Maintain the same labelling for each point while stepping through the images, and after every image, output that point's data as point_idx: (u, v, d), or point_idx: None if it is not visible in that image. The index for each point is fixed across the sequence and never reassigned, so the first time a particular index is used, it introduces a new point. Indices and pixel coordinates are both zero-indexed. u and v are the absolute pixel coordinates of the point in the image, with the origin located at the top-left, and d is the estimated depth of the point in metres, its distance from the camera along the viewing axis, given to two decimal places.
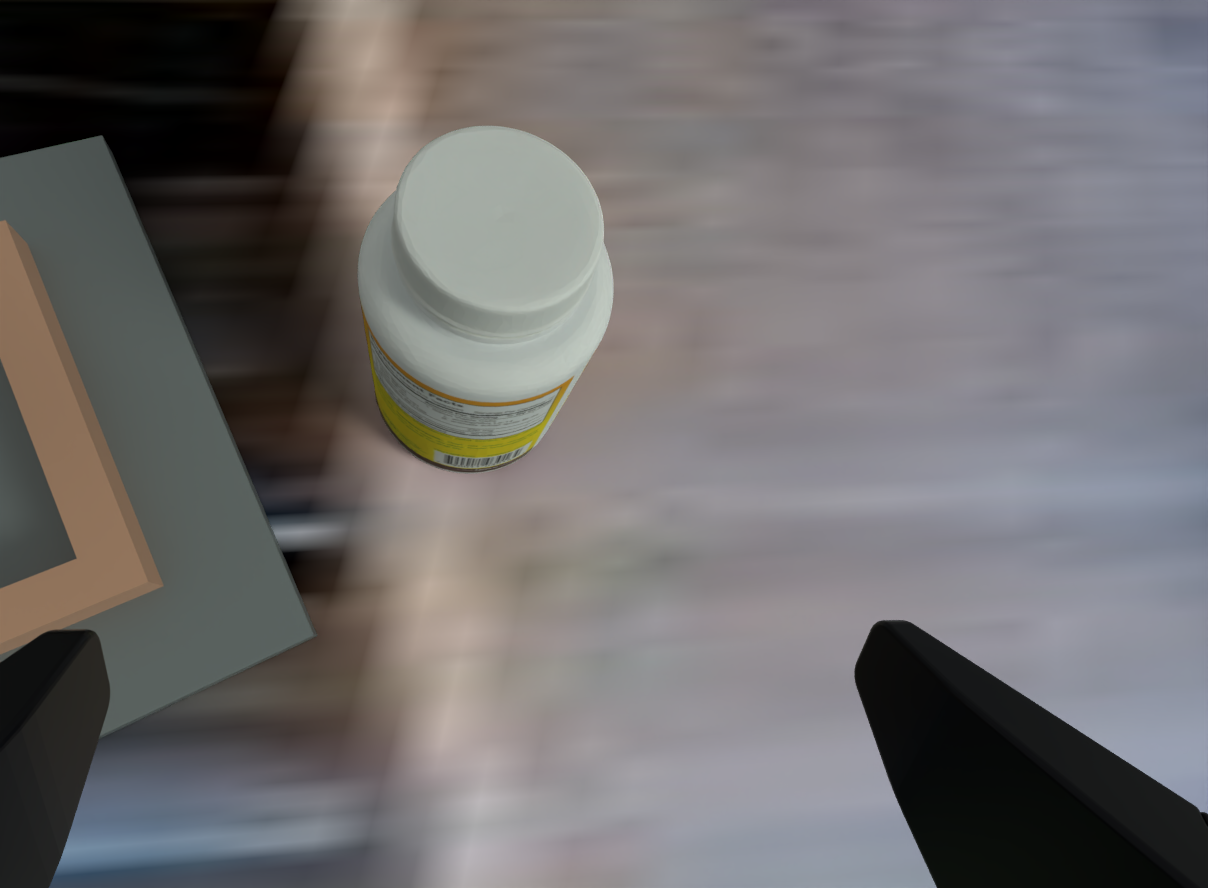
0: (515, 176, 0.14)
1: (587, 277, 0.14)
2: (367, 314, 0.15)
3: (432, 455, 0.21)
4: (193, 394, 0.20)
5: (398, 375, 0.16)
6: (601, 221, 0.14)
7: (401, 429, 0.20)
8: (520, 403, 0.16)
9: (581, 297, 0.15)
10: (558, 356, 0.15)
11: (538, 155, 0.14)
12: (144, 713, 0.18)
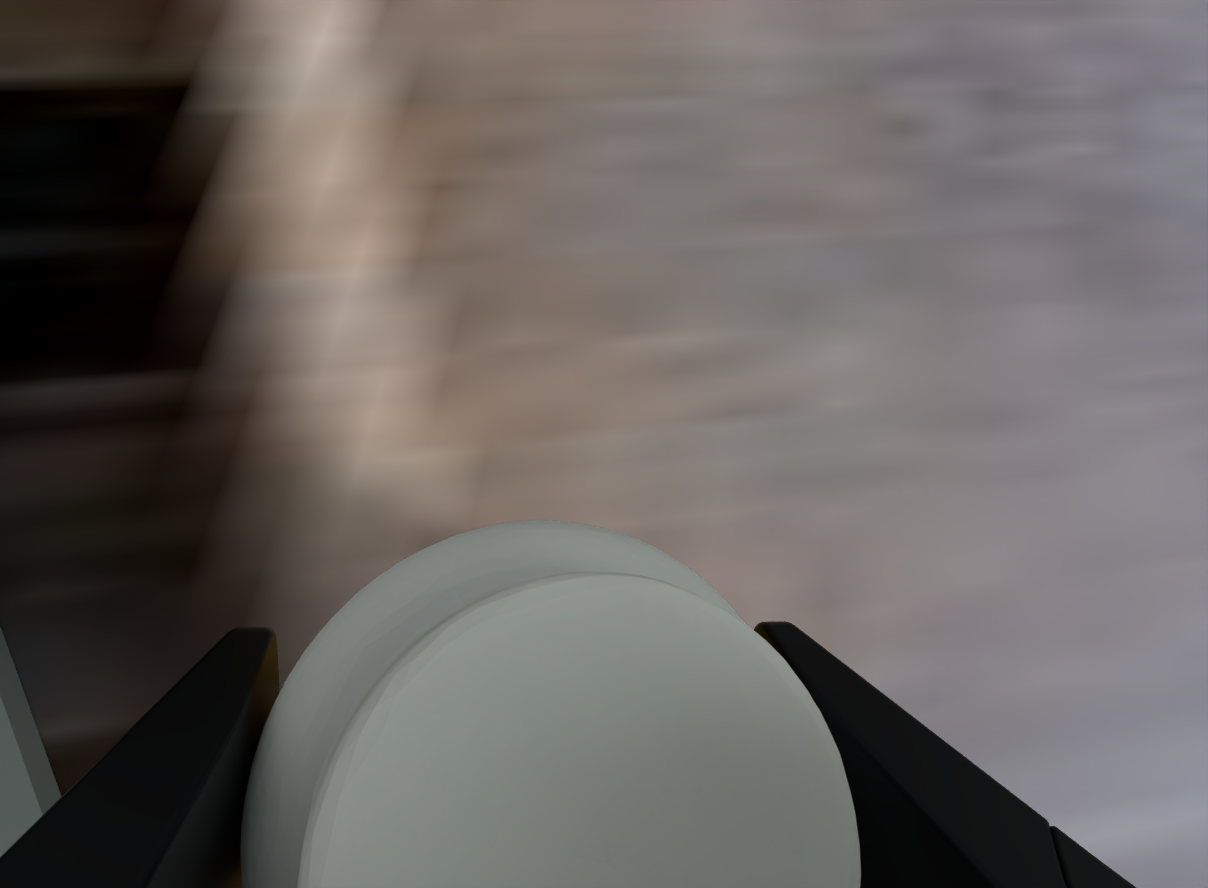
0: (634, 730, 0.05)
1: None
2: None
3: None
4: (4, 805, 0.12)
5: None
6: (854, 827, 0.05)
7: None
8: None
9: None
10: None
11: (689, 652, 0.05)
12: None
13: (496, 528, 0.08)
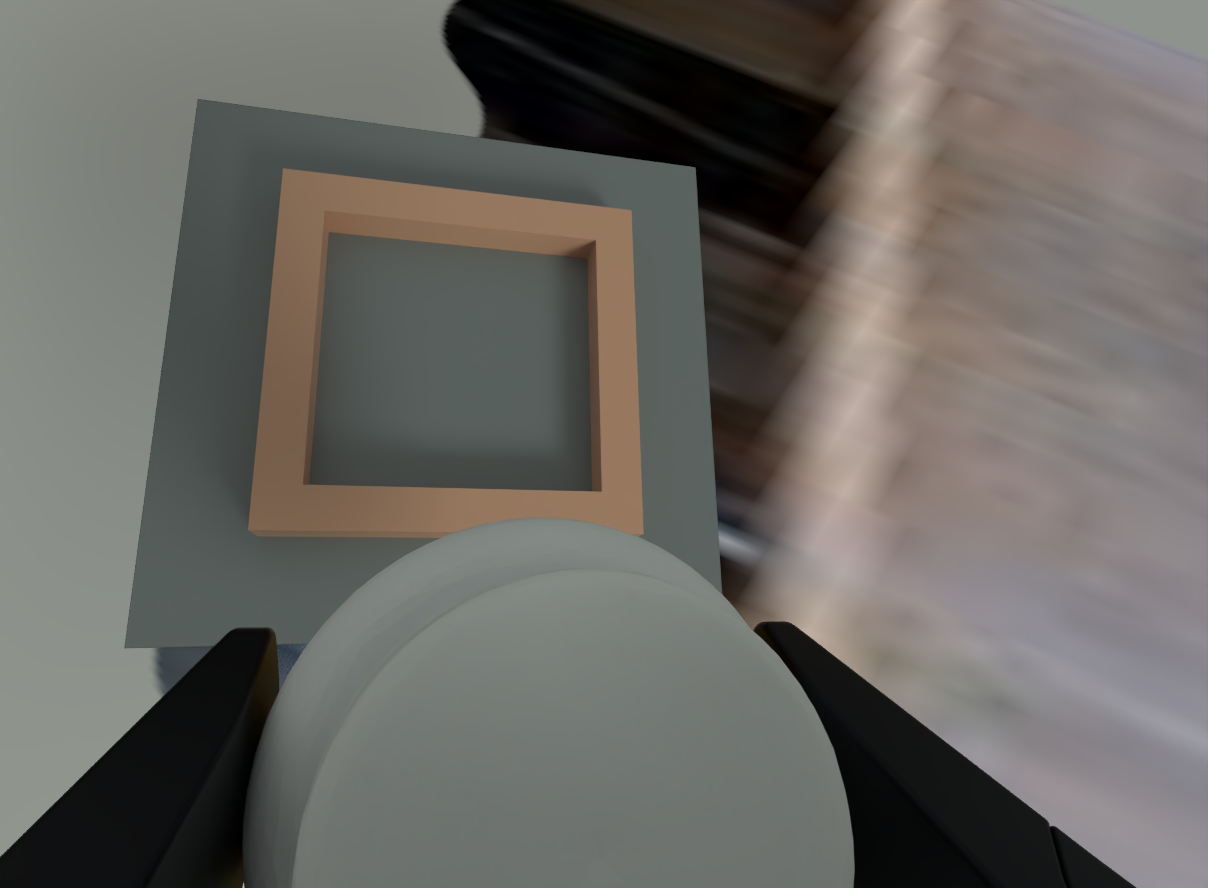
0: (627, 726, 0.05)
1: None
2: None
3: None
4: (697, 395, 0.24)
5: None
6: (849, 824, 0.05)
7: None
8: None
9: None
10: None
11: (682, 649, 0.05)
12: None
13: (496, 527, 0.08)
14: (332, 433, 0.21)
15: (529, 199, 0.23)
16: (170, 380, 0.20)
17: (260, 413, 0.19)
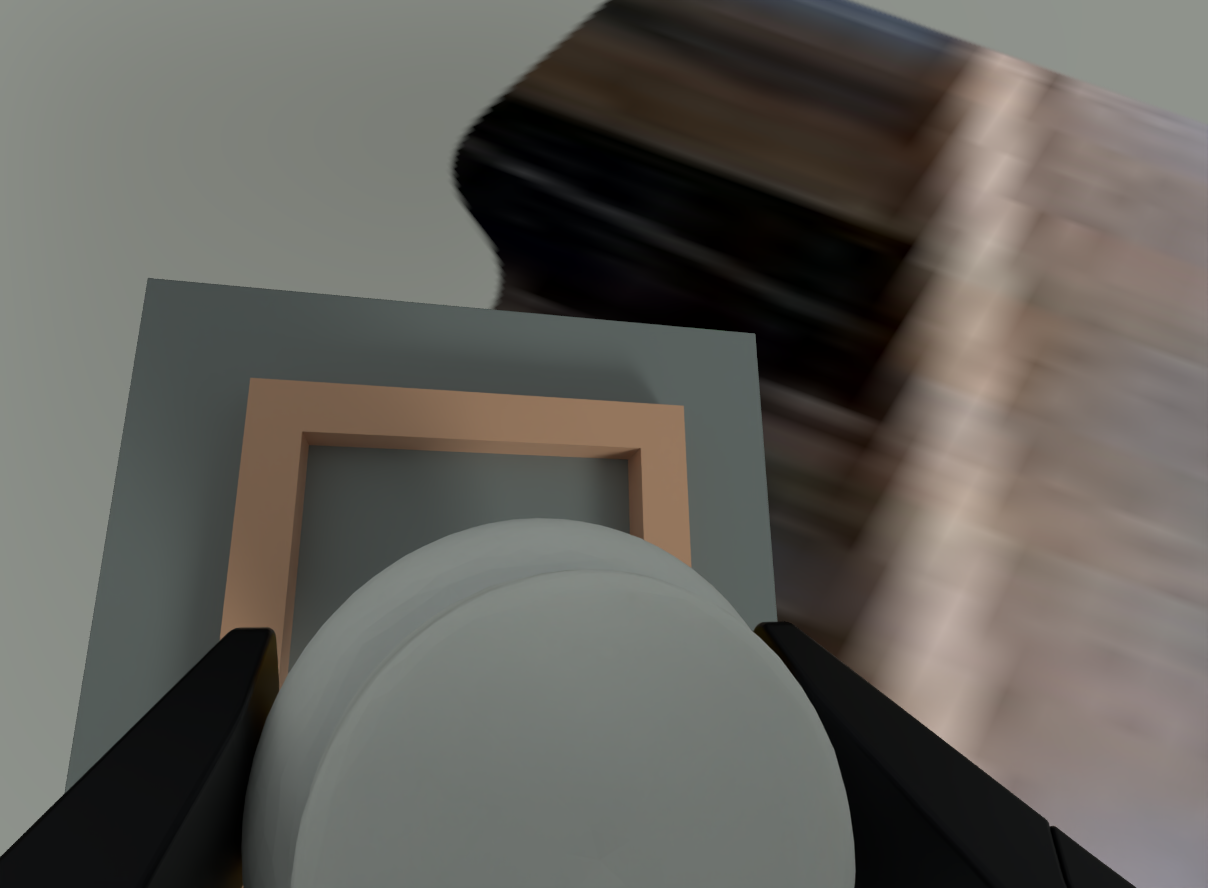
0: (627, 728, 0.05)
1: None
2: None
3: None
4: None
5: None
6: (849, 825, 0.05)
7: None
8: None
9: None
10: None
11: (683, 651, 0.05)
12: None
13: (496, 527, 0.08)
14: None
15: (559, 399, 0.18)
16: (98, 663, 0.16)
17: None
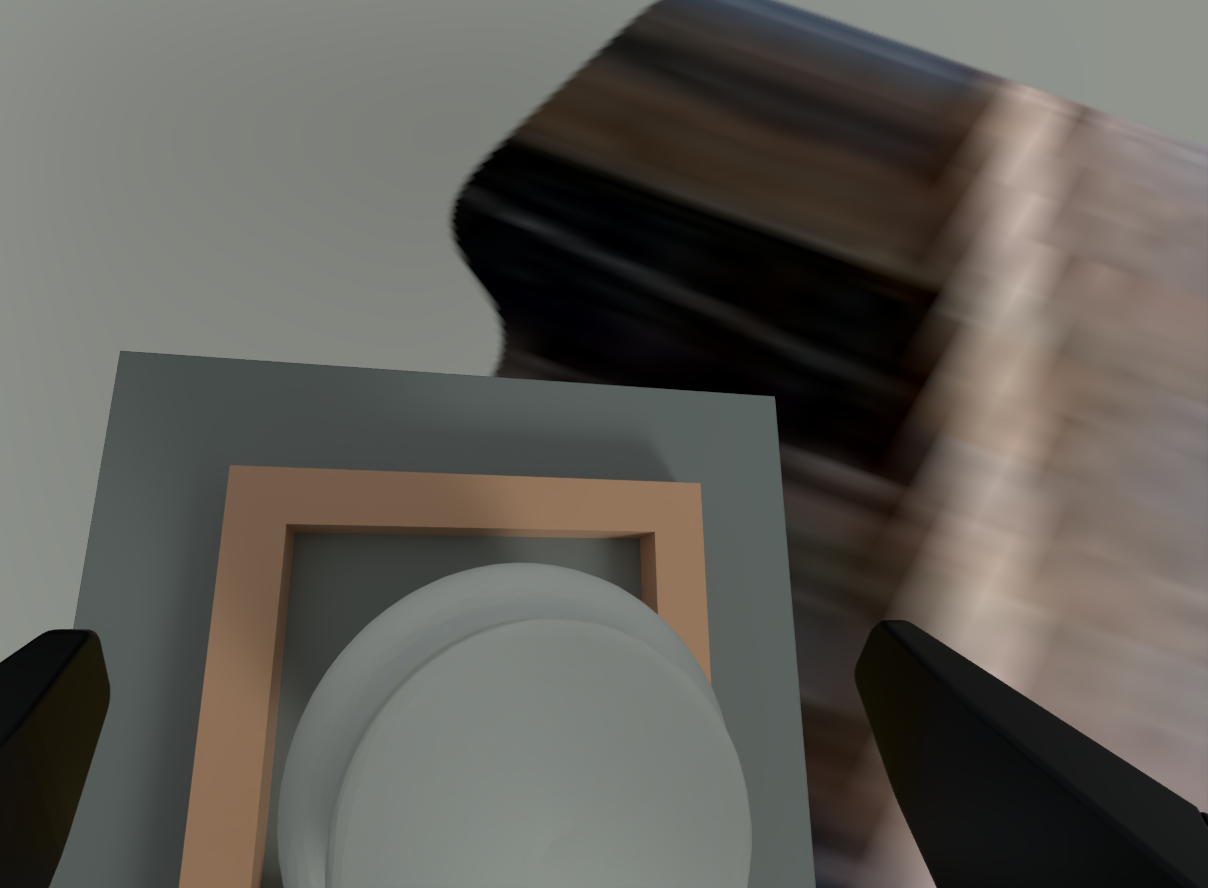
0: (577, 740, 0.07)
1: None
2: None
3: None
4: (786, 727, 0.18)
5: None
6: (747, 814, 0.07)
7: None
8: None
9: None
10: None
11: (621, 681, 0.07)
12: None
13: (482, 572, 0.09)
14: None
15: (566, 480, 0.17)
16: None
17: (184, 858, 0.13)
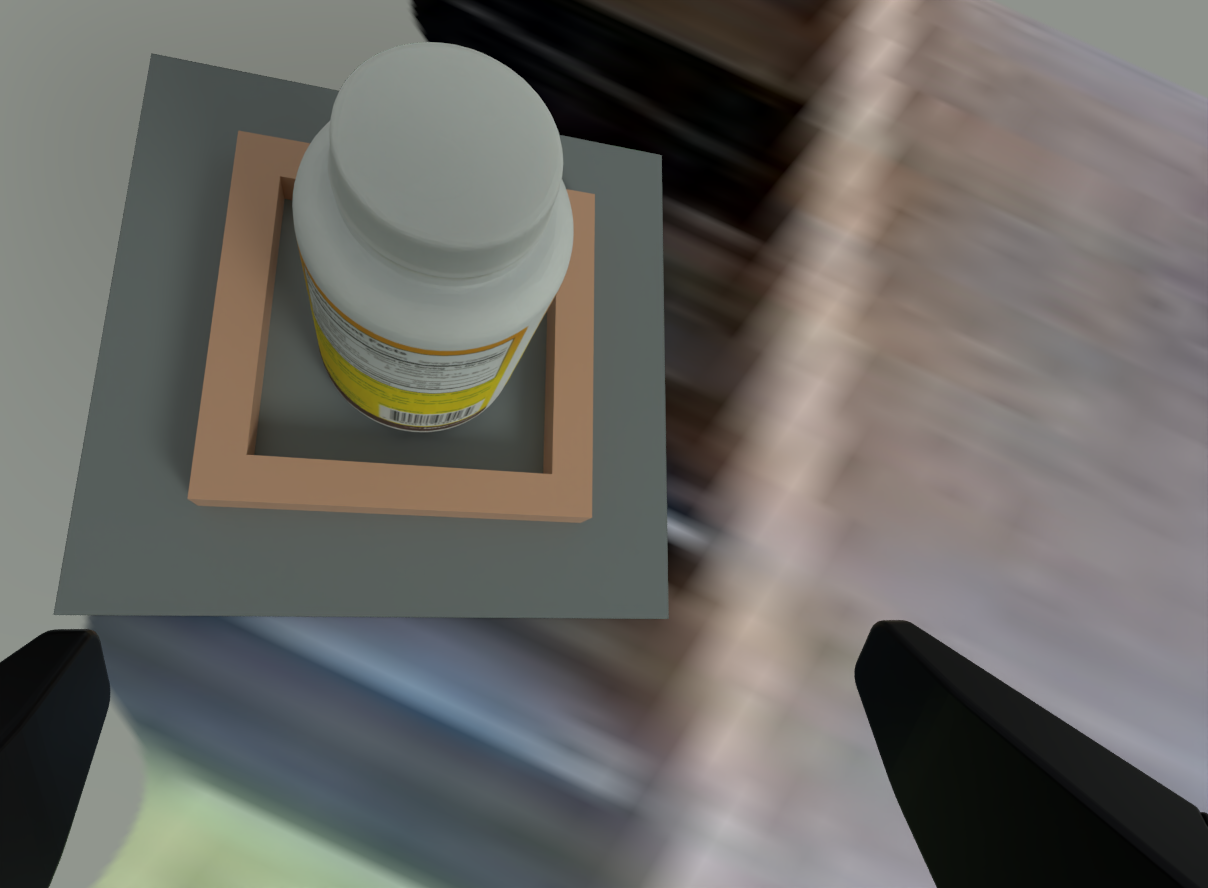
0: (467, 100, 0.13)
1: (542, 215, 0.13)
2: (301, 248, 0.14)
3: (377, 410, 0.19)
4: (652, 383, 0.24)
5: (336, 317, 0.15)
6: (561, 156, 0.13)
7: (344, 381, 0.19)
8: (469, 353, 0.15)
9: (536, 239, 0.14)
10: (510, 302, 0.14)
11: (493, 79, 0.13)
12: (533, 616, 0.21)
13: None
14: (280, 404, 0.21)
15: None
16: (112, 342, 0.20)
17: (205, 380, 0.19)
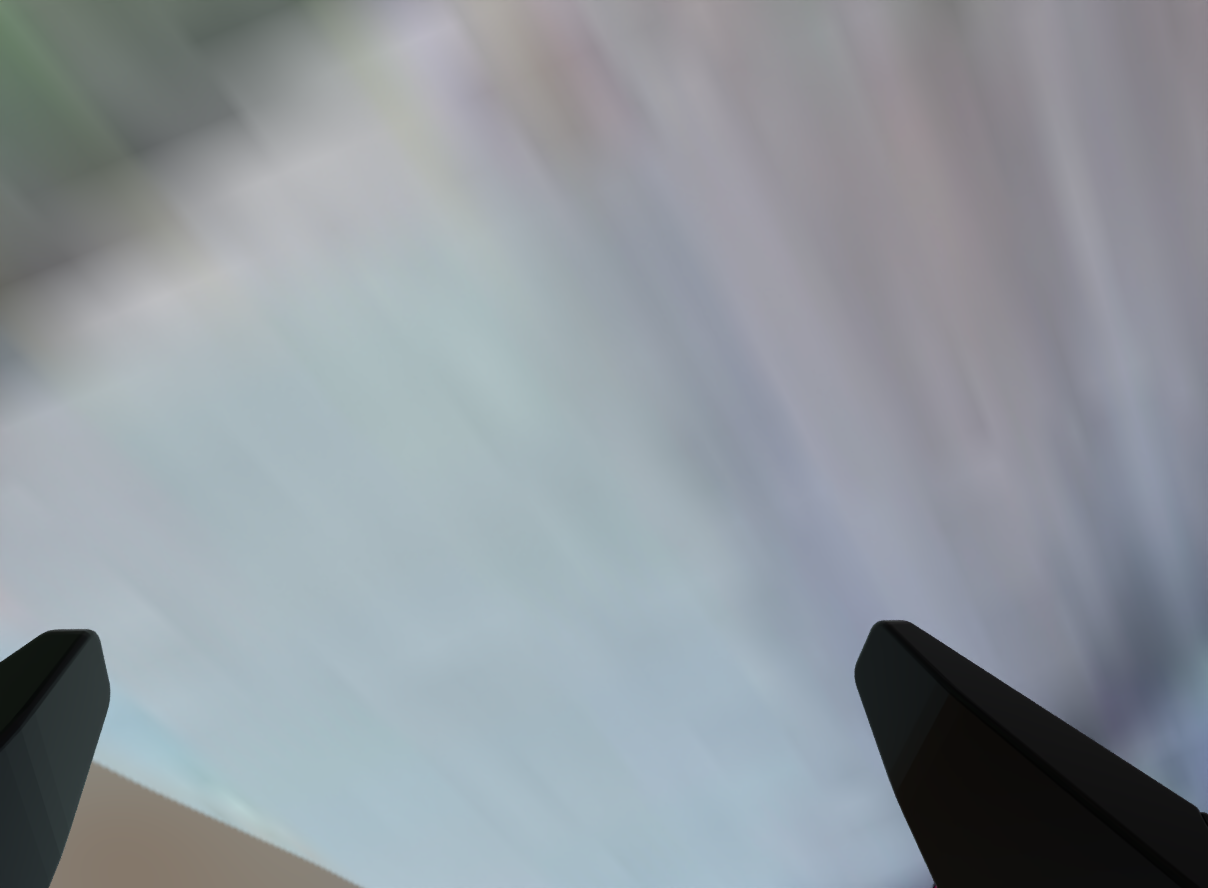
0: None
1: None
2: None
3: None
4: None
5: None
6: None
7: None
8: None
9: None
10: None
11: None
12: None
13: None
14: None
15: None
16: None
17: None
